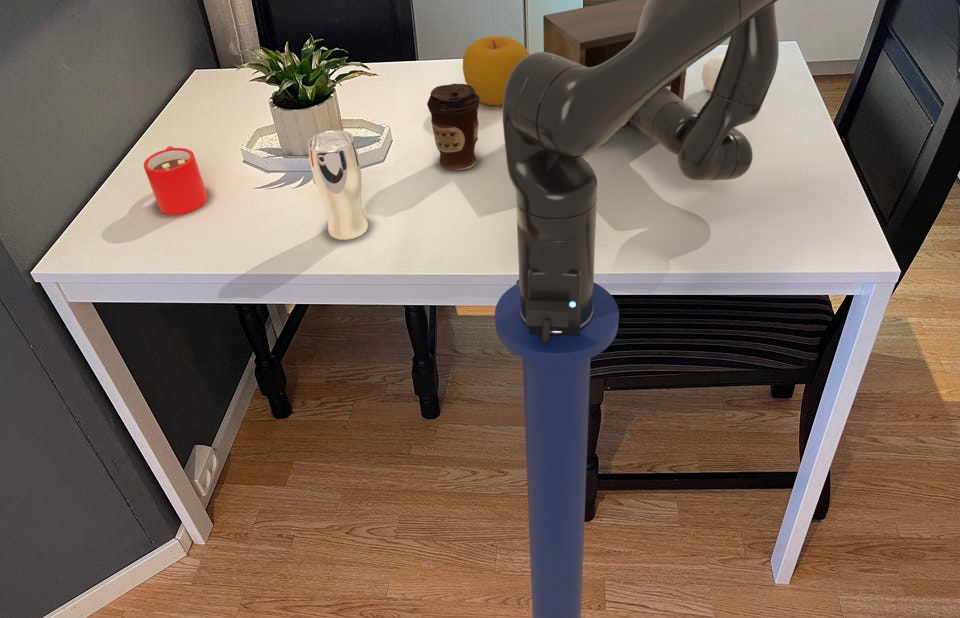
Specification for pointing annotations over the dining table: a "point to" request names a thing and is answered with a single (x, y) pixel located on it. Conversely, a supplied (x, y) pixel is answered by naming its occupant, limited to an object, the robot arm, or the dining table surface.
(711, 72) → the ornament
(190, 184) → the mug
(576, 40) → the cubby
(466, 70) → the apple
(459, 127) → the coffee cup
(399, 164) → the dining table surface
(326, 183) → the beer glass
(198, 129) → the dining table surface
